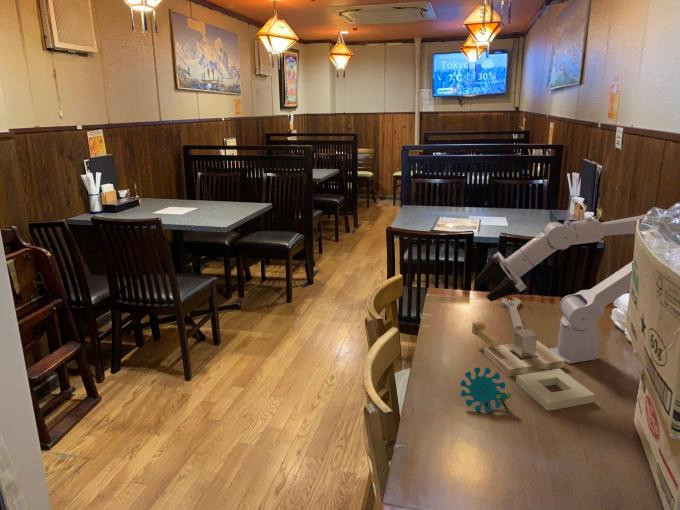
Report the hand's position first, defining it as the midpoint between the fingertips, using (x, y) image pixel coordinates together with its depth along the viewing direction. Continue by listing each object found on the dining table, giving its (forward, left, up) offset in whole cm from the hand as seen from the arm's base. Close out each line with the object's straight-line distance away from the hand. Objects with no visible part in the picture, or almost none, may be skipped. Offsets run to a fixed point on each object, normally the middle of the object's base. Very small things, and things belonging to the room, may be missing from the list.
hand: (482, 290), depth 131 cm
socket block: (-9, +8, -18) cm, 21 cm away
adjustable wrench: (-23, -19, -18) cm, 35 cm away
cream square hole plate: (-7, +23, -18) cm, 30 cm away
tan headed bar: (-2, 0, -15) cm, 15 cm away
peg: (-9, +8, -18) cm, 21 cm away
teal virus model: (+11, +23, -18) cm, 31 cm away
